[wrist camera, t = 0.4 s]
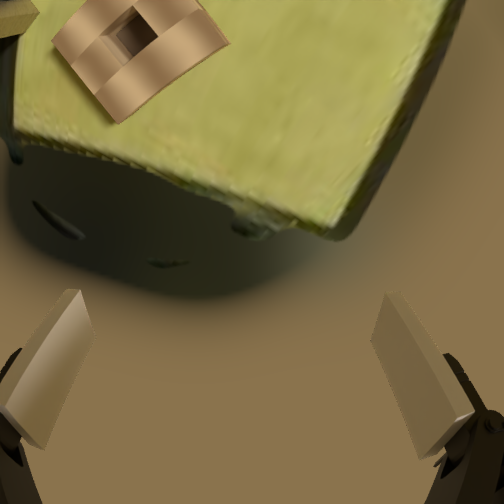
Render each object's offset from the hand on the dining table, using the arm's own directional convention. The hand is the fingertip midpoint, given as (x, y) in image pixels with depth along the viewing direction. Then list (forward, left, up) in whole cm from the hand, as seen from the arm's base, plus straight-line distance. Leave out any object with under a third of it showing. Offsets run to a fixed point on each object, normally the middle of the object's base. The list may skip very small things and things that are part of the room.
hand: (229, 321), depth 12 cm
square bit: (+14, -33, -26) cm, 44 cm away
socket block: (+4, -17, -26) cm, 31 cm away
